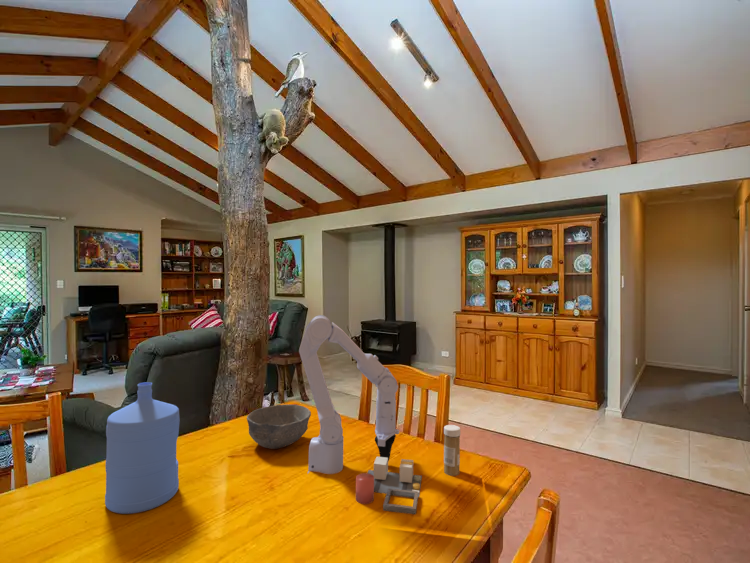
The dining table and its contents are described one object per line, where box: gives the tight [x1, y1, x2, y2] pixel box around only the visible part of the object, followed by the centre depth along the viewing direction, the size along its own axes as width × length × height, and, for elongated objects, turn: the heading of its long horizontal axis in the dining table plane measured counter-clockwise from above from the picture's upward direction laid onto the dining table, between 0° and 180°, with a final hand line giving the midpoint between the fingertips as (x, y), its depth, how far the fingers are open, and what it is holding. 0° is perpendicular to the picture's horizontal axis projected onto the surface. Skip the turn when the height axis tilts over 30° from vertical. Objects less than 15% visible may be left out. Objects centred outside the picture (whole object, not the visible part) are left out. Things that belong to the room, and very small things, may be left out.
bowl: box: [246, 404, 312, 450], centre depth 130 cm, size 21×21×10 cm
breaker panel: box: [367, 469, 423, 498], centre depth 104 cm, size 15×11×2 cm
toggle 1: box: [373, 456, 389, 480], centre depth 107 cm, size 3×4×4 cm
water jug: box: [104, 381, 181, 515], centre depth 97 cm, size 16×16×28 cm
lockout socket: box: [382, 488, 419, 515], centre depth 95 cm, size 8×8×2 cm
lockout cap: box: [355, 472, 375, 505], centre depth 96 cm, size 4×4×6 cm
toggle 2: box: [399, 458, 414, 483], centre depth 106 cm, size 3×4×4 cm
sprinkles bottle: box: [443, 424, 461, 477], centre depth 111 cm, size 5×5×13 cm
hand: (385, 461), depth 114 cm, fingers closed
